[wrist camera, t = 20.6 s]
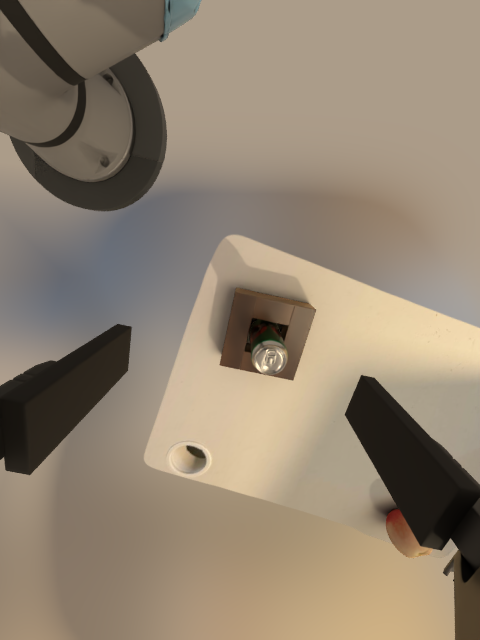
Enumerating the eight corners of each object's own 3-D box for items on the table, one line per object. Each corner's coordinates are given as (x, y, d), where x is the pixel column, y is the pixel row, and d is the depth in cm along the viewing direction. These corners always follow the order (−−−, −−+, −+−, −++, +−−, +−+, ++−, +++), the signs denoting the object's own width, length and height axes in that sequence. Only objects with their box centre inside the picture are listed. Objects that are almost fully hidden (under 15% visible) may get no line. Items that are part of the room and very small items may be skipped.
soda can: (248, 341, 44) (248, 375, 33) (251, 314, 42) (253, 340, 31) (275, 344, 44) (285, 379, 33) (280, 318, 42) (292, 345, 31)
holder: (221, 355, 45) (219, 365, 41) (236, 287, 41) (235, 291, 37) (289, 369, 45) (293, 380, 42) (310, 303, 42) (316, 309, 38)
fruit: (388, 529, 58) (410, 573, 50) (373, 509, 56) (394, 551, 48) (420, 517, 56) (448, 560, 48) (406, 495, 54) (433, 537, 47)
